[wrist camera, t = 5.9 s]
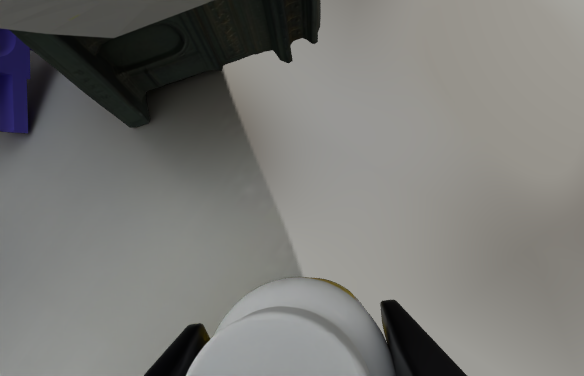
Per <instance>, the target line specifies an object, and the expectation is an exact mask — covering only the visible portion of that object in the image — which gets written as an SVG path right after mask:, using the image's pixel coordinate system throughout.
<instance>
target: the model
mask: <svg viewBox="0 0 584 376" xmlns="http://www.w3.org/2000/svg"><path fill="white" fill-rule="evenodd" d="M319 28H320V0H214V1H210V2H208V3H206V4H203V5H201V6H198V7H195V8H193V9H190V10H187V11H185V12H182V13H179V14H177V15H174V16H171V17H169V18H166V19H163V20H161V21H158V22H155V23H153V24H150V25H147V26H145V27H142V28H139V29H137V30H134V31H131V32H129V33H126V34H123V35H121V36H118V37H115V38H105V37H89V36H73V35H57V34H44V33H35V32H27V31H18V30H10V29H9V30H10V31H11V32H12V33H13V34H14V35H15V36H16V37H18V38H19V39H20V40H21V41H22V42H23V43H24V44H25V45H27V46H28V47H29V48H30V49H32V50H33V51H34V52H35V53H37V54H38V55H39V56H40V57H42V58H43V59H44V60H45V61H47V62H48V63H49V64H50V65H51V66H53V67H54V68H55V69H56V70H58V71H59V72H60V73H61V74H63V75H64V76H65V77H66V78H67V79H69V80H70V81H71V82H72V83H73V84H75V85H76V86H77V87H78V88H79V89H80V90H82V91H83V92H84V93H86V94H87V95H88V96H89V97H91V98H92V99H93V100H95V101H96V102H97V103H99V104H100V105H101V106H102V107H104V108H105V109H107V110H108V111H109V112H111V113H112V114H113V115H114V116H116V117H117V118H118V119H120V120H121V121H122V122H123V123H125V124H126V125H127V126H129V127H132V128H134V127H138V126H141V125H144V124H147V123H148V122H149V121H150V117H149V112H148V106H147V99H146V95H145V93H146V92H147V91H149V90H151V89H154V88H158V87H161V86H163V85H165V84H168V83H172V82H175V81H178V80H181V79H184V78H187V77H190V76H193V75H196V74H199V73H202V72H205V71H209V70H221V71H222V68H223V65H225V64H228V63H231V62H234V61H237V60H240V59H242V58H245V57H248V56H250V55H253V54H259V53H262V52H264V51H270V50H273V51H274V52H275V53H276V54H277V56H278V57H279V59H280V60H281V61H284V62H286V63H290V62H291V61H292V55H291V48H290V45H291V43H292V42H293V41H295V40H297V39H300V38H304V39H307V40H308V41H309V42H311V43H312V44H315V43H317V42H318V40H317V39H318V30H319Z"/></svg>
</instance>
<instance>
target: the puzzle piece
mask: <svg viewBox="0 0 584 376" xmlns="http://www.w3.org/2000/svg"><path fill="white" fill-rule="evenodd" d="M30 50H32V49H30V48H29V47H28V46H27V45H25V44H24V43H23V42H22V41H21V40H20V39H19V38H18V37H16V36H15V35H14V34H13V33H12V32H11V31H10V30H9V29H1V28H0V131H1V132H13V133H28V108H27V79H30ZM32 51H33V50H32Z"/></svg>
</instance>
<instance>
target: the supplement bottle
mask: <svg viewBox="0 0 584 376" xmlns="http://www.w3.org/2000/svg"><path fill="white" fill-rule="evenodd" d="M186 376H396V373H395V369H394V364H393V360H392V356H391V353H390V350H389V348H388V345H387V343H386V340H385V338H384V336H383V334H382V332H381V330H380V329H379V327H378V326H377V324H376V323H375V322H374V320H373V318H372V317H371V316H370V314H368V312H367V311H366V310H365V308H364V307H363V306H362V304H361V303H360V302H359V300H358V299H357V298H356V297H355V296H354V295H353V294H352V293H351V292H350V291H349V290H347V289H346V288H344V287H343V286H341V285H339V284H337V283H335V282H332V281H329V280H326V279H320V278H307V277H291V278H284V279H279V280H275V281H272V282H269V283H266V284H264V285H262V286H260V287H258V288H256V289H254V290H253V291H251V292H250V293H248V294H247V295H246V296H244V297H243V298H242V299H241V300H239V301H238V302H237V303H236V304H235V305H234V306H233V307H232V309H231V310H230V311H229V312H228V313H227V314H226V316H225V317H224V318H223V320H222V321H221V323H220V324H219V326H218V328H217V330H216V332H215V334H214V336H213V337H212V338H211V339H210V340H209V341H208V342H207V343H206V345H205V346H204V347H203V348H202V350H201V351H200V352H199V354H198V355H197V356H196V358H195V359H194V361H193V363H192V364H191V366H190V368H189V370H188V372H187V374H186Z"/></svg>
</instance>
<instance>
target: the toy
mask: <svg viewBox="0 0 584 376" xmlns="http://www.w3.org/2000/svg"><path fill="white" fill-rule="evenodd" d="M210 1H214V0H0V28H1V29H10V30H18V31H27V32H35V33H44V34H57V35H73V36H89V37H105V38H115V37H118V36H121V35H123V34H126V33H129V32H131V31H134V30H137V29H139V28H142V27H145V26H147V25H150V24H153V23H155V22H158V21H161V20H163V19H166V18H169V17H171V16H174V15H177V14H179V13H182V12H185V11H187V10H190V9H193V8H195V7H198V6H201V5H203V4H206V3H208V2H210Z"/></svg>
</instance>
